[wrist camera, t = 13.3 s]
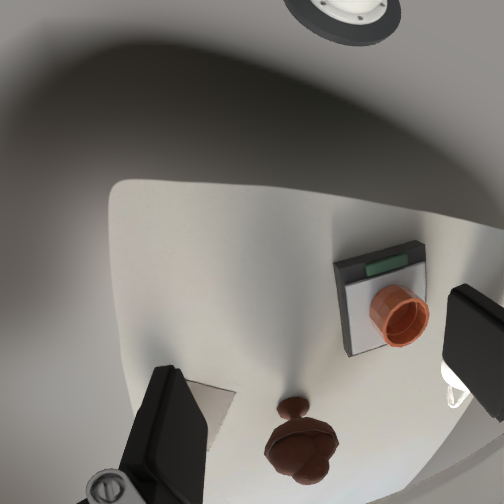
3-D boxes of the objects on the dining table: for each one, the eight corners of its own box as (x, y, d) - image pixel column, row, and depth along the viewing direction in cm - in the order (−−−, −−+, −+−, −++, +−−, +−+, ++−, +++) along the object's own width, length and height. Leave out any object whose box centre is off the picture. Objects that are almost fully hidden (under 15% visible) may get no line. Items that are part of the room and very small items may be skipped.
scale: (332, 262, 38) (340, 271, 35) (416, 239, 38) (428, 245, 35) (343, 348, 42) (350, 360, 39) (417, 323, 42) (427, 332, 39)
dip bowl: (365, 291, 36) (381, 308, 31) (410, 276, 36) (430, 291, 31) (368, 334, 38) (382, 354, 33) (411, 319, 38) (428, 336, 33)
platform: (148, 436, 46) (141, 461, 40) (161, 372, 42) (152, 401, 36) (208, 451, 48) (206, 477, 42) (235, 392, 43) (236, 422, 37)
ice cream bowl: (334, 387, 44) (361, 456, 30) (309, 430, 47) (326, 495, 33) (273, 380, 43) (285, 457, 29) (253, 425, 46) (258, 495, 32)
